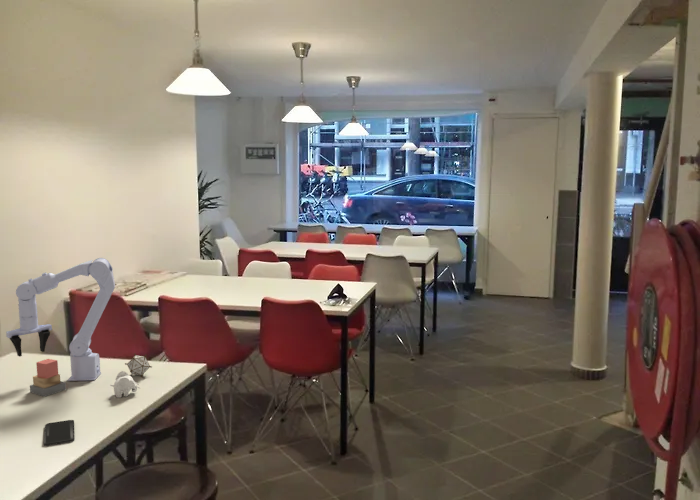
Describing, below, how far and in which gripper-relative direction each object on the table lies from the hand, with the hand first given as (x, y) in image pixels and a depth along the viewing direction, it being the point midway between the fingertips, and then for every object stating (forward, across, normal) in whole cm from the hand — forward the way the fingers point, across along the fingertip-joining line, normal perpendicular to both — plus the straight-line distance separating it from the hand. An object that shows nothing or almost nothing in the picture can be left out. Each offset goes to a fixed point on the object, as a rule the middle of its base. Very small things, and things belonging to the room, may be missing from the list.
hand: (31, 353), depth 221 cm
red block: (+5, 0, -13) cm, 14 cm away
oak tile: (+8, 0, -13) cm, 15 cm away
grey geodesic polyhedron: (+11, +29, -21) cm, 38 cm away
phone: (+11, -11, -51) cm, 54 cm away
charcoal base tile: (+11, 0, -13) cm, 17 cm away
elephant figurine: (+11, +17, -36) cm, 41 cm away
